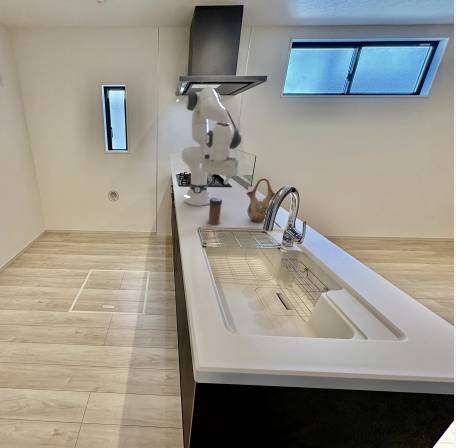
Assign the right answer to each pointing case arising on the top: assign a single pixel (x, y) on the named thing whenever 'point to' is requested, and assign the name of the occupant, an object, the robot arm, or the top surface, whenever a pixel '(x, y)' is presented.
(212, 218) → the coffee jar
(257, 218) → the ceramic vessel
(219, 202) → the jar lid
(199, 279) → the top surface
